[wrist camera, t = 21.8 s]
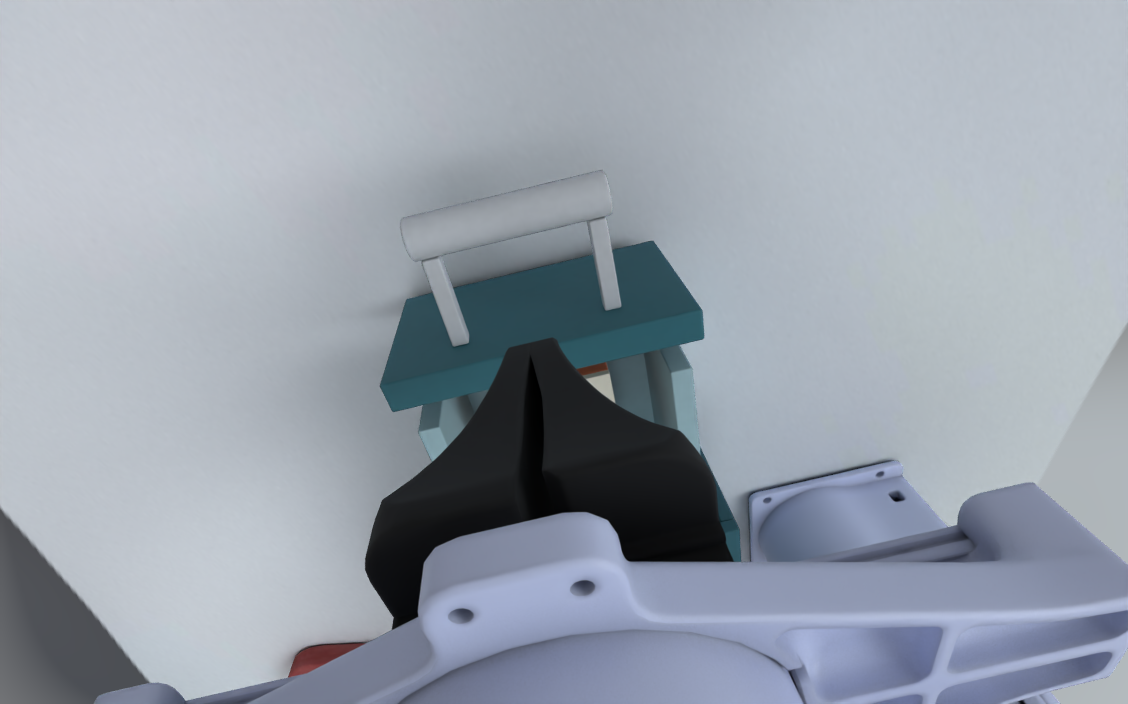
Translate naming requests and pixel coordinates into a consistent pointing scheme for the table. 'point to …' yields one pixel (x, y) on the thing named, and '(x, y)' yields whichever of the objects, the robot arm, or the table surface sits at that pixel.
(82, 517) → the table surface
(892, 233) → the table surface
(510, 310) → the drawer
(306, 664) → the popsicle
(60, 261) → the table surface
